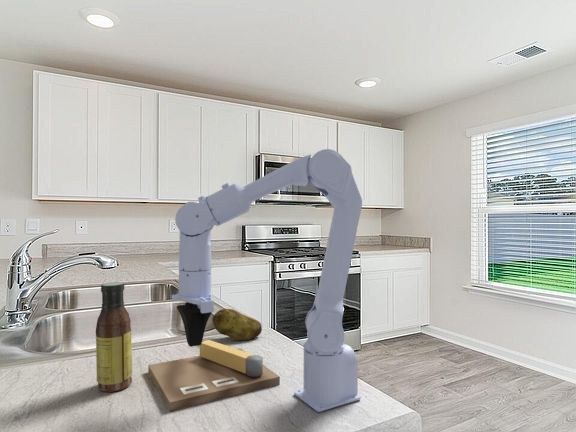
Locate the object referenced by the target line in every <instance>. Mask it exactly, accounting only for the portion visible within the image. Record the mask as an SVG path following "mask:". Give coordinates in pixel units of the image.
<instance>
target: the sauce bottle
mask: <svg viewBox="0 0 576 432" xmlns="http://www.w3.org/2000/svg"><path fill="white" fill-rule="evenodd" d="M124 290H125V283H124V282H123V281H108V282H104V283H102V284H101V285H100V292H101V296H102V297H101V299H102V303H101V309H100V313H99V316H98V317H97V321H96V326H95V350H96V352H95V354H96V359H95V360H96V361H95V362H96V365H95V366H96V383H97V387H98V389H99V390H100V391H102V392H106V393H112V392H116V391H123V390H125V389H126V388H128V387H129V386H130V385H131V384H132V383H133V378H132V376H133V350H132V349H133V347H132V346H133V344H132V342H133V341H132V328H131V316H130V314H129V312H128V311H127V309H126V307H125V302H124Z"/></svg>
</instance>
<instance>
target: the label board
mask: <svg viewBox="0 0 576 432" xmlns="http://www.w3.org/2000/svg"><path fill="white" fill-rule="evenodd" d="M237 349H238V350H241V351H244V352H246V351H245V350H244V349H243V348H237ZM147 367H148V374H149V376H150V378H151V379H152V381H153V383H154V385H155V387H156V390H158V393H159V394H160V396H161V398H162V400H163V402H164V403H165V406H166V407H167V409H168V410H169V412H173V411H177V410H181V409H185V408H189V407H194V406H197V405H202V404H205V403H209V402H210V403H211V402H214V401H218V400H221V399H227V398H229V397H230V398H231V397H233V396H238V395H243V394H246V393H251V392H255V391H258V390H264V389H266V388H272V387H275V386H279V385H280V382H281V381H280V380H281V378H280V376H279V375H278V374H277V373H275V372H274V371H273V370H271V369H270V368H268V367H267V366H266V365H264V364H263V374H262V375H260V376H257V377H251V376H248V375H247V374H245V373H243V372H240V371H237V370H235V369H232V368H229V367H227V366H224V365H222V364H219V363H216V362H214V361H211V360H209V359H206V358H203V357H201V356H200V355H196V356H190V357H186V358H179V359H174V360H169V361H164V362H157V363H153V364H148V366H147Z"/></svg>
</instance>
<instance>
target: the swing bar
mask: <svg viewBox="0 0 576 432" xmlns="http://www.w3.org/2000/svg"><path fill="white" fill-rule="evenodd" d="M238 349H239V348H235V347H231V346H230V345H226V344H223V343H220V342H217V341H214V340H211V339H206V340H204V341H203V340H202V343H201V345H199V356H201V357H203V358H206V359H209V360H211V361H214V362H216V363H219V364H222V365H224V366H227V367H229V368H232V369H235V370H237V371H240V372H243V373H245V374H247V375H248V376H251V377H257V376H260V375H262V374H263V365H264V364H263V363H264V362H263V359H264V357H263V356H262V355H259V354H257V355H256V354H253V353H251V352H250V353H249V352H248V351H247V352H246V351H245V350H244V351H245V352H244V351H241V350H238Z"/></svg>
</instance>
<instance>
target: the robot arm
mask: <svg viewBox="0 0 576 432" xmlns="http://www.w3.org/2000/svg"><path fill="white" fill-rule="evenodd" d="M311 156H312V157H311ZM308 183H309V185H311V186H312V187H313V188H314V189H315V190H317V191H318V192H319V193H321V194H322V195H324V197H325V199H327V201H328V202H329V203H330V205H331V206H332V208H333V212H332V213H333V214H332V219H331V223H330V228H329V233H328V239H327V244H326V249H325V253H324V259H323V262H322V263H323V264H322V267H321V273H320V277H319V278H320V279H319V283H318V289H317V292H316V295H315V296H314V301H313V304H312V307H311V309H310V310H309V311H308V313H306V316H305V322H304V324H305V328H306V331H307V332H306V333H307V334H306V335H307V336H306V338H307V340H306V342H304V344H303V388H300V389H298V390H297V389H296V390H294V392H293V394H294V396H296V397H298V398H299V399H300V400H301V401H303V402H304V403H306V405H308V406H309V407H311V408H312V409H313V410H314V411H315V412H318V413H319V412H320V413H321V412H323V411H327V410H330V409H334V408H336V407H337V408H338V407H340V406H342V405H346V404H347V405H348V404H350V403H353V402H356V401H360V400H361V398H362V397H361V396H360V395H359V393H358V390H359V389H358V385H359V384H358V381H359V380H358V379H359V378H358V376H359V375H358V374H359V372H358V370H359V368H358V367H359V364H358V358H357V355H356V352H355V351H354V348H352V347H351V346H350V345H349V344H345V343H344V341H345V331H344V328H343V316H344V298H345V293H346V286H347V282H348V277H349V273H350V267H351V262H352V258H353V257H352V256H353V251H354V247H355V241H356V237H357V232H358V227H359V221H360V216H361V211H362V207H363V199H362V196H361V194H360V191H359V188H358V185H357V183H356V181H355V177H354V174H353V170H352V166H351V164H350V163H349V161H347V160H346V159H345V158H344V157H343V155H342V154H341V153H340V152H338V151H336V150H334V149H329V148H327V149H326V148H325V149H321V150H318V151H317V152H315V153H314V155H312V154H308V155H304V156H302V157H300V158H298V159H296V160H294V161H290V162H289V163H286V164H284V165H283V166H281V167H279V168H277V169H275V170H274V171H272V172H269V173H267V174H266V175H264V176H261V177H260V178H258V179H256V180H255V181H252V182H250V183H249V184H247V185H241V184H238V183H235V182H234V183H232V184H230V183H228V182H227V183H224V184H222V185H221V188H222V189H220V190H217V191H216V192H214V193H211V194H210V195H207V196H204V195H201V196H199V197H198V198H197V199H198V202H197V201H188V202H186V203H185V204H183V205H181V207H179V209H178V210H177V212H176V214H175V226H176V227H177V229H178V230H179V245H178V293H177V294H171V300H172V301H181V302H185V304H180V305H177V306H176V310H177V311H178V314H179V315H180V317H181V320H182V323H183V329H184V332H185V337H186V338H185V339H186V343H187V345H188V347H191V348H192V347H197V346H200V345H201V343H202V342H203V339H204V335H205V330H206V326H207V323H208V321H209V319H210V317H211V315H212V313H214V309H215V308H214V305H215V302H214V300H213V293H212V241H211V239H212V233H211V232H212V230H213V228H214V227H215V226H217V227H219V226H221V225H223V224H225V223H227V222H230V221H232V220H234V219H235V218H238V217H240V216H242V215H244V214H247V213H248V212H250V209H251V206H252V203H253V202H255V201H257V200H260V199H262V198H264V197H266V196H268V195H271V194H274V193H275V192H278V191H280V190H283V189H285V188H287V187H290V186H299V187H307V185H308Z"/></svg>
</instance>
